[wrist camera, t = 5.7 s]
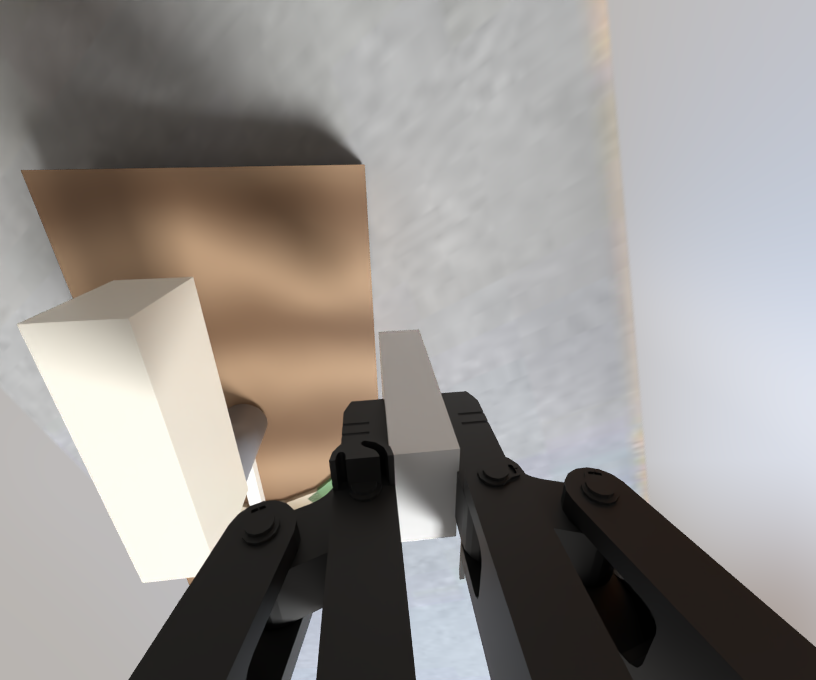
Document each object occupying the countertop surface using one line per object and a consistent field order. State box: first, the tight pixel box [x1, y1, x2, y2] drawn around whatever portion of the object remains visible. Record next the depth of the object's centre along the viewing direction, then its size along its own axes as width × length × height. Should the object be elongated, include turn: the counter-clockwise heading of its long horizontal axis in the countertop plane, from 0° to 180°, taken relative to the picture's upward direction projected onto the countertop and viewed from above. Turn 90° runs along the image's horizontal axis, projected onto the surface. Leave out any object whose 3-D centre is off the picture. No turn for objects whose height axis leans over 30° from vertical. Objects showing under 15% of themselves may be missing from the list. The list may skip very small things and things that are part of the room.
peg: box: [17, 277, 268, 583], centre depth 17 cm, size 17×3×9 cm, turn 1°
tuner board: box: [21, 165, 378, 585], centre depth 24 cm, size 28×14×4 cm, turn 1°
